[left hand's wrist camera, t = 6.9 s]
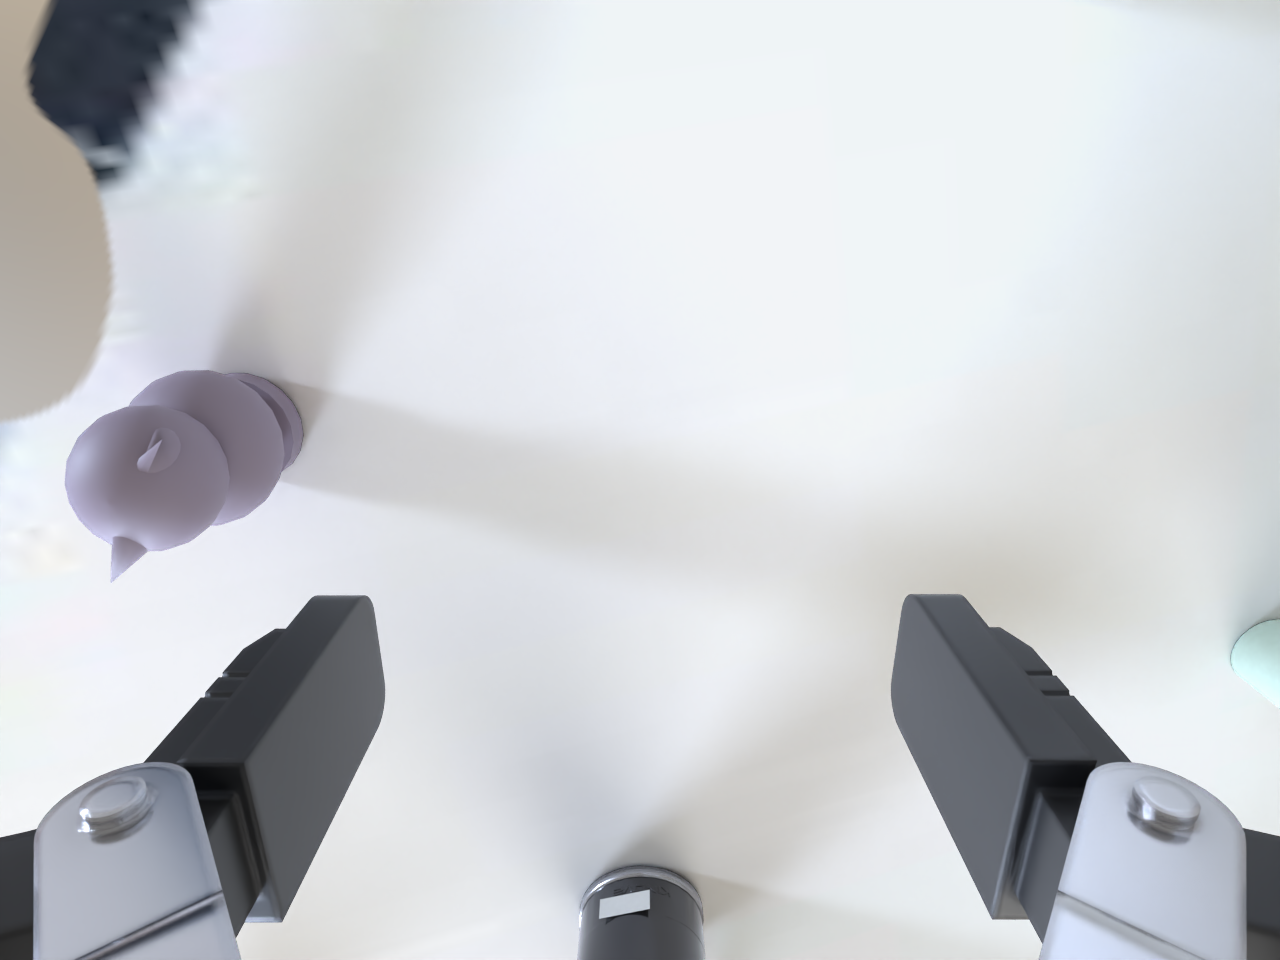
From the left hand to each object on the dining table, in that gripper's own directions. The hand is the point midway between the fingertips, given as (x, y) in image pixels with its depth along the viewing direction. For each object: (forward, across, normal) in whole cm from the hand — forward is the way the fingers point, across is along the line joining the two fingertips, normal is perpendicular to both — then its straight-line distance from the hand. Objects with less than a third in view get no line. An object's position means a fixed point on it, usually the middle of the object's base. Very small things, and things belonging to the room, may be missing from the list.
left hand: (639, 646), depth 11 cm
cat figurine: (+32, -23, -6) cm, 40 cm away
